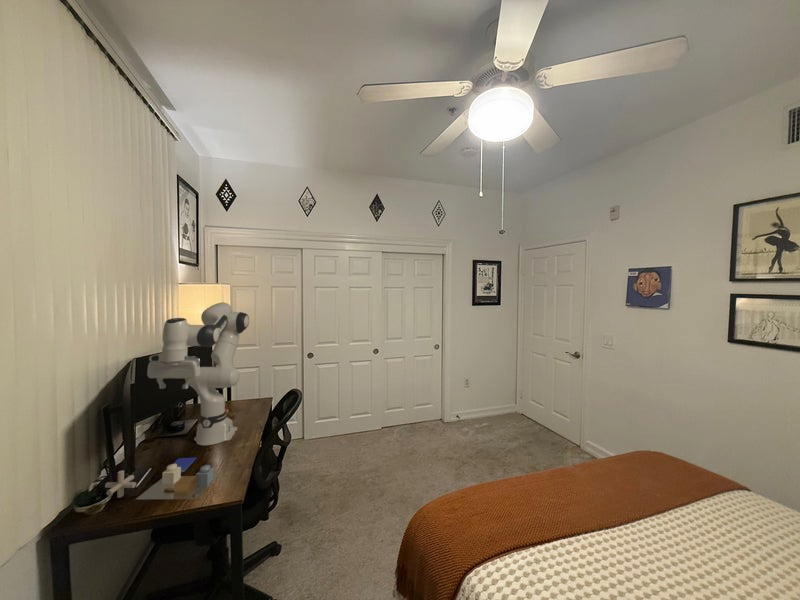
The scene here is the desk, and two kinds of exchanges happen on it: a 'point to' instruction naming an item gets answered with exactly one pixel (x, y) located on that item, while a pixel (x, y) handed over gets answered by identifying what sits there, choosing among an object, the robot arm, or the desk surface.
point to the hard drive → (184, 463)
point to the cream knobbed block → (171, 474)
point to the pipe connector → (120, 484)
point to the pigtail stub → (184, 486)
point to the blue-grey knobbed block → (205, 475)
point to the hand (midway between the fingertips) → (173, 388)
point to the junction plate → (159, 492)
